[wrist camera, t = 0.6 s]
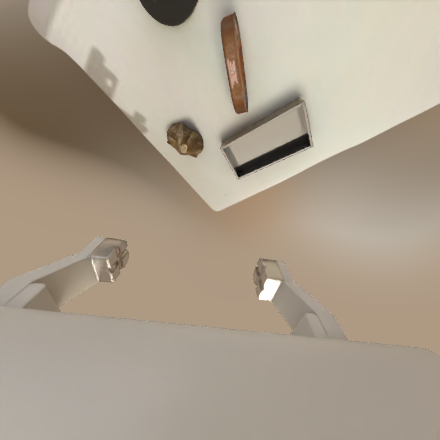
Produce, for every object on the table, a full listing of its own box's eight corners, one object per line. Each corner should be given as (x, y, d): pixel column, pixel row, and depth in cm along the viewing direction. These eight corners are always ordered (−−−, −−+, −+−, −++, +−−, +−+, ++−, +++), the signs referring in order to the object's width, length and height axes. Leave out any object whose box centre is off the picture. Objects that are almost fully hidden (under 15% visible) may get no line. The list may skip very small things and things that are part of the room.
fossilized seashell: (161, 140, 47) (190, 161, 52) (163, 141, 41) (195, 164, 46) (175, 116, 45) (203, 140, 51) (179, 113, 40) (210, 141, 45)
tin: (248, 107, 41) (249, 115, 35) (236, 111, 42) (234, 119, 36) (237, 15, 31) (236, 5, 25) (221, 22, 32) (216, 14, 26)
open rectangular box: (299, 97, 39) (304, 101, 35) (308, 139, 45) (313, 146, 41) (221, 141, 47) (220, 148, 44) (238, 172, 54) (237, 179, 50)
